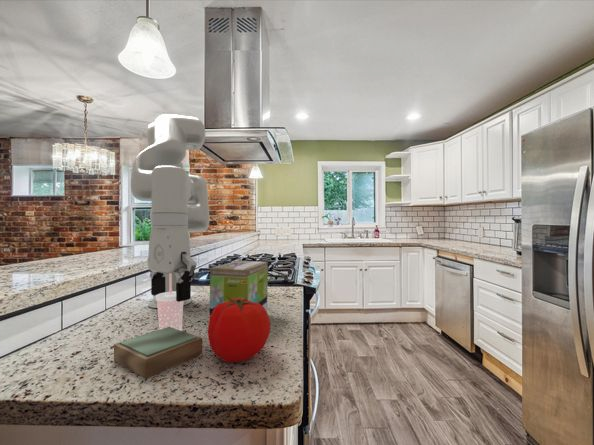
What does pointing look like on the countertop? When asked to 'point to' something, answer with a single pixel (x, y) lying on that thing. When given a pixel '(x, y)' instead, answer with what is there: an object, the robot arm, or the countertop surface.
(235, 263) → the tea box
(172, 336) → the podium
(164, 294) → the beverage cup
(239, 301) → the tomato
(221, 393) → the countertop surface
